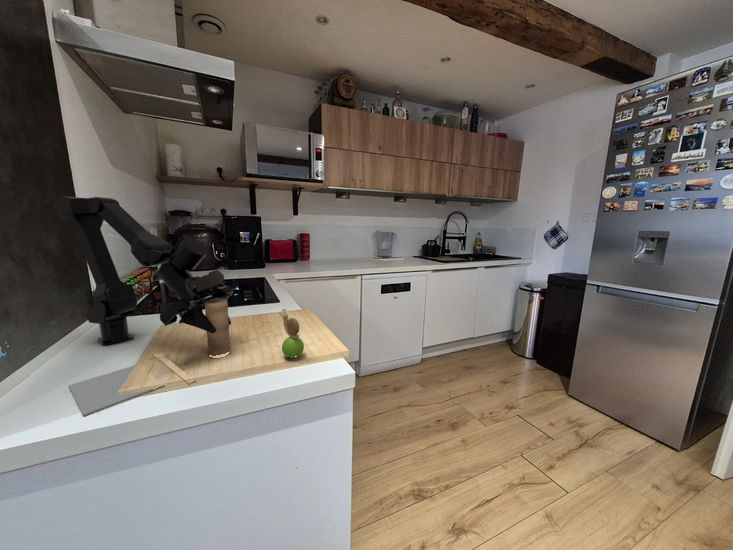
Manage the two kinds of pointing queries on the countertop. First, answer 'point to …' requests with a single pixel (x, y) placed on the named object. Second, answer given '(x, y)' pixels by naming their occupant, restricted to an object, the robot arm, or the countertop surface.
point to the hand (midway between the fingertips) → (222, 328)
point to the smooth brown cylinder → (218, 326)
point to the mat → (102, 391)
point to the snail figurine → (291, 337)
